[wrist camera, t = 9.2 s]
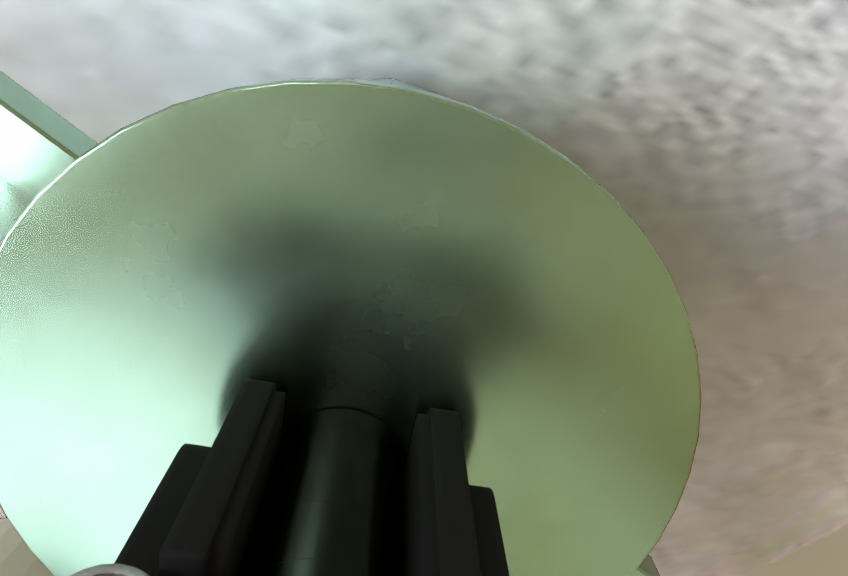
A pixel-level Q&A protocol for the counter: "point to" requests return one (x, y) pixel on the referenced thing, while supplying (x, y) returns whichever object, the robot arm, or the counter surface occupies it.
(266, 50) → the counter surface
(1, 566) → the reusable coffee cup
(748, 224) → the counter surface
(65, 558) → the lid
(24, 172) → the pot
